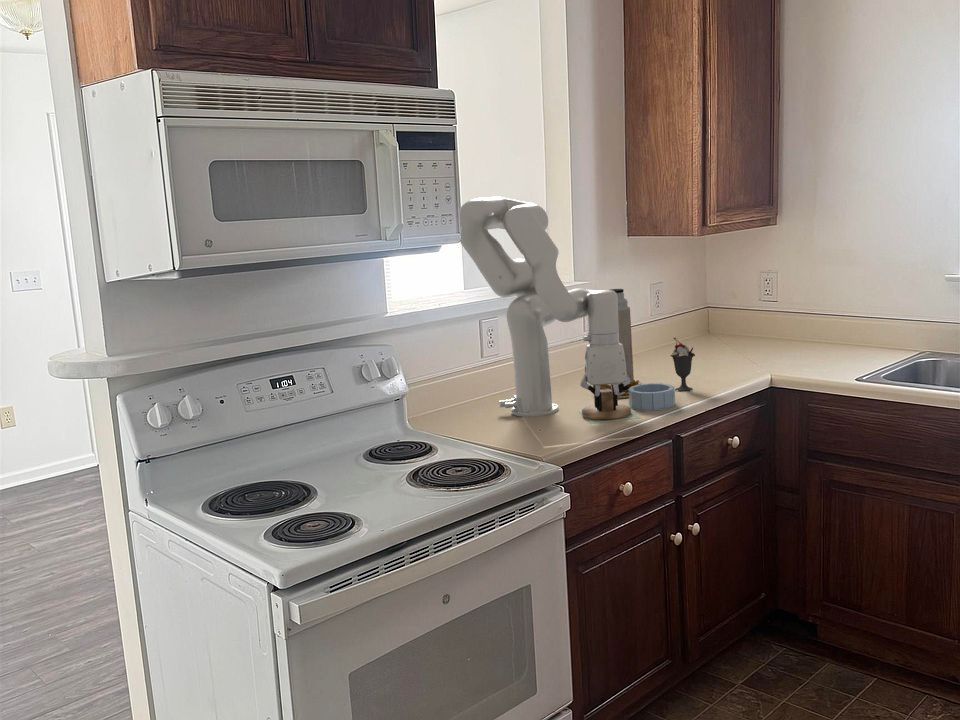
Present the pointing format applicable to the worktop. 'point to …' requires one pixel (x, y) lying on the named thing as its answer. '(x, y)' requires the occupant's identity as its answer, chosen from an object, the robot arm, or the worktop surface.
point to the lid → (606, 408)
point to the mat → (631, 416)
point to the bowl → (651, 396)
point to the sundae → (682, 364)
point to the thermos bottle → (625, 331)
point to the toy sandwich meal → (624, 391)
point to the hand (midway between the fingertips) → (606, 408)
